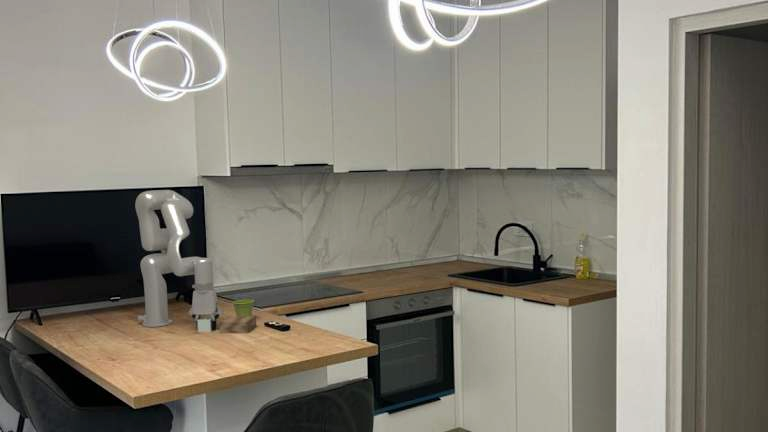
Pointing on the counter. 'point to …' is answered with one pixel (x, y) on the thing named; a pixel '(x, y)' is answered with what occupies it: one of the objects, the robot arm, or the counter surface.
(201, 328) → the white small block
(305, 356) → the counter surface
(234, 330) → the walnut block
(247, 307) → the plant pot
